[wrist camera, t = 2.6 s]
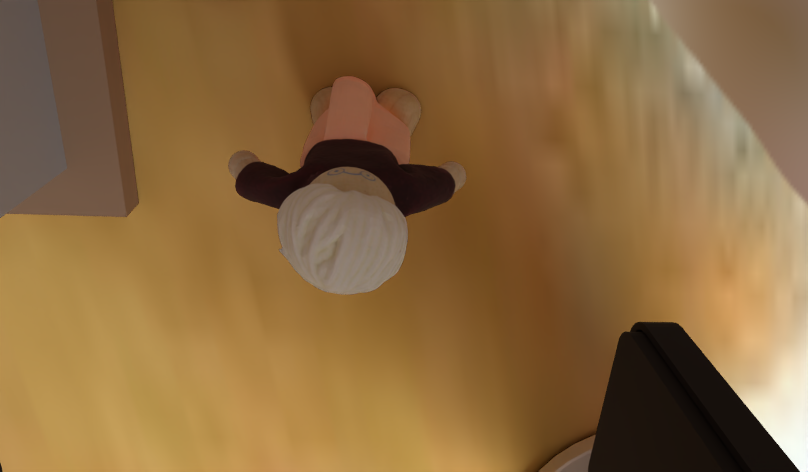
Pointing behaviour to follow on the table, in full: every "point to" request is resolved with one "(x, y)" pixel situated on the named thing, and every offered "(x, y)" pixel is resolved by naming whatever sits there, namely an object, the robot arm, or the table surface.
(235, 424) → the table surface
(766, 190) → the table surface
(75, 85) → the plinth
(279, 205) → the grandmother figurine
